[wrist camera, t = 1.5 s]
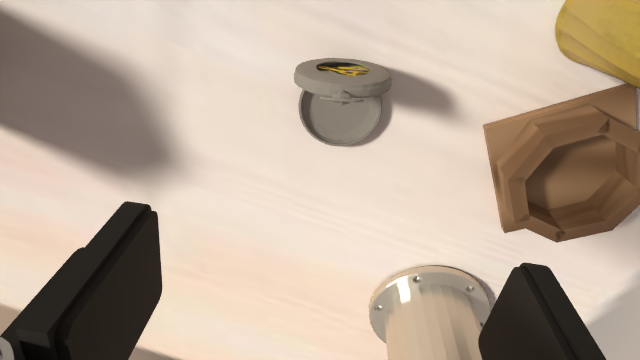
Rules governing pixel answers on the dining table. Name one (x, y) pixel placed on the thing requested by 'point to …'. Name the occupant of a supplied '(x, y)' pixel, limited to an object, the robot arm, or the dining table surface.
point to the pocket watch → (340, 98)
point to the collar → (568, 165)
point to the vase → (602, 36)
